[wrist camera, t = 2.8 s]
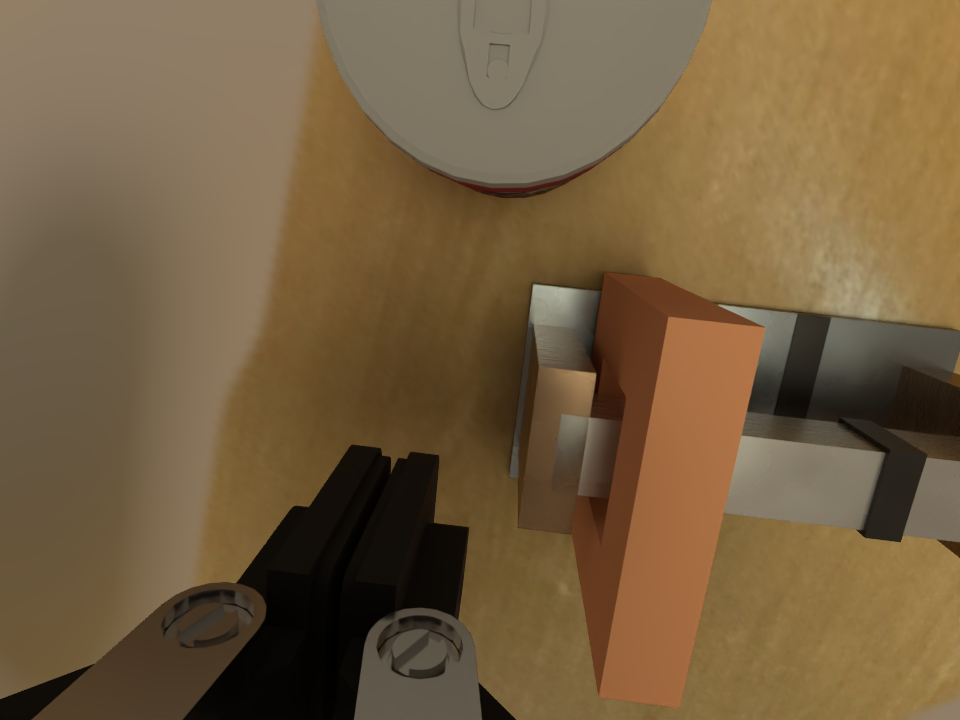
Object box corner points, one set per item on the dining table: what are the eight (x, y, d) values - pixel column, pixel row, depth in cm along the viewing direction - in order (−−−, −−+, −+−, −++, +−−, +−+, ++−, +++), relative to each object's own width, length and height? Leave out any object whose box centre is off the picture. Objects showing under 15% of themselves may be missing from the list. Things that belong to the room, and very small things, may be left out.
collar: (568, 509, 24) (598, 697, 15) (604, 271, 22) (668, 316, 12) (617, 515, 24) (679, 707, 15) (659, 277, 22) (765, 328, 12)
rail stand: (509, 471, 25) (505, 573, 18) (532, 282, 23) (539, 313, 16) (896, 518, 24) (1050, 644, 17) (953, 329, 23) (1154, 382, 15)
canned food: (433, 216, 23) (358, 218, 12) (390, -14, 21) (256, -246, 10) (635, 178, 22) (744, 147, 11) (608, -63, 20) (707, -371, 10)
